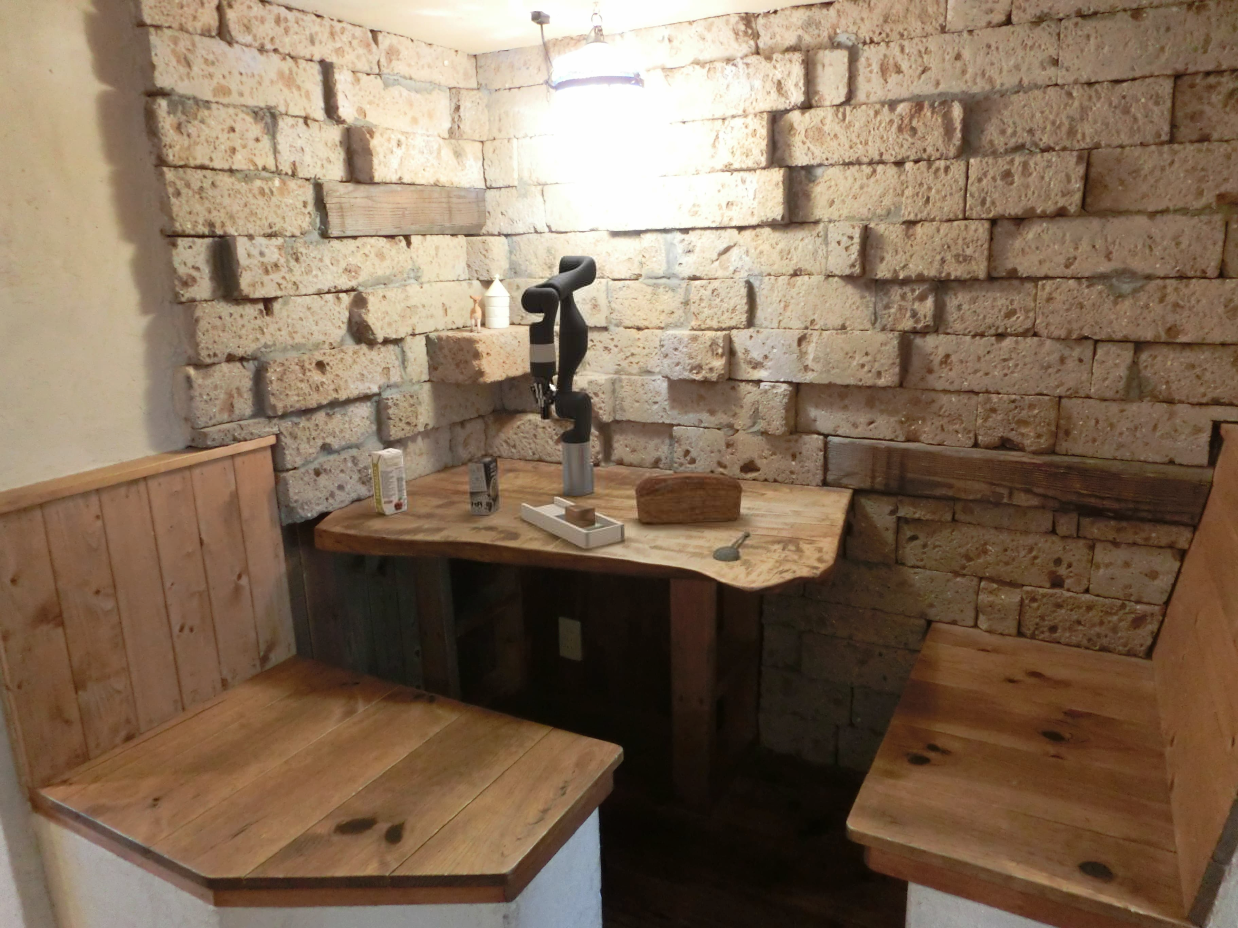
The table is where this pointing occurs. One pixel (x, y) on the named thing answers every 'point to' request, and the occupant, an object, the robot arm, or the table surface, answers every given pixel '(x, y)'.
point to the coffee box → (483, 485)
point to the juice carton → (388, 481)
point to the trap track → (584, 537)
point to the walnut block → (580, 515)
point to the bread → (688, 498)
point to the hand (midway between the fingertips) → (545, 419)
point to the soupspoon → (728, 551)
